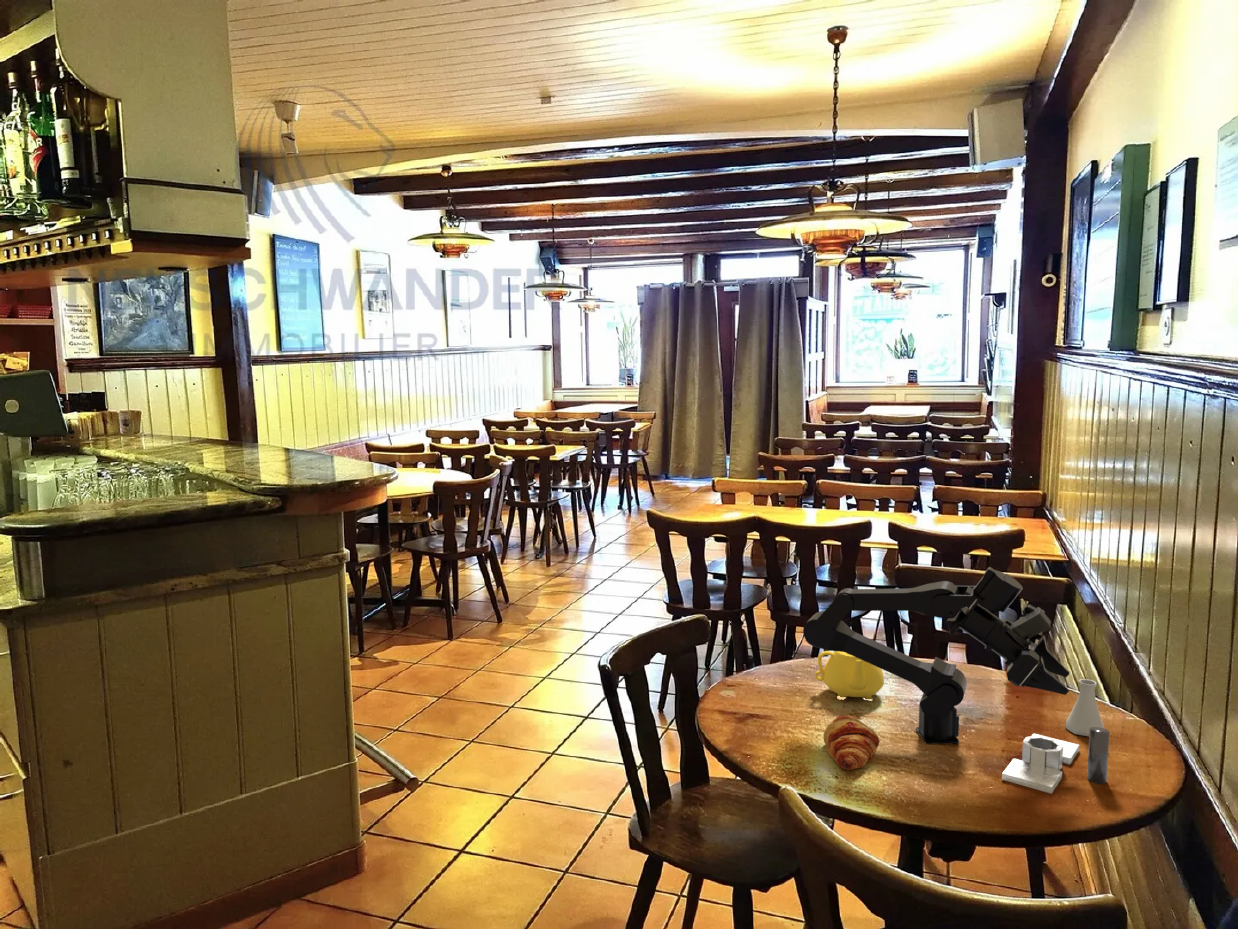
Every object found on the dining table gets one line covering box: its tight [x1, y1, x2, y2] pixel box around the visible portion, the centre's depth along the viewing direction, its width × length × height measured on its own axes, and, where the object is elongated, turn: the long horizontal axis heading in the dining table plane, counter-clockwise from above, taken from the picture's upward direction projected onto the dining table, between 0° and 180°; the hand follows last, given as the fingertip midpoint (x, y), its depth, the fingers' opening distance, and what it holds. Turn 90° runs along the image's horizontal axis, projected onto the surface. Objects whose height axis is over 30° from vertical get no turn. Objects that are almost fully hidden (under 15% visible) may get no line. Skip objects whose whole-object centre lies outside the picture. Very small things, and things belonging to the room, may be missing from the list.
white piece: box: [1001, 733, 1080, 795], centre depth 156 cm, size 8×20×4 cm, turn 140°
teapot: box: [814, 650, 885, 699], centre depth 189 cm, size 20×15×12 cm
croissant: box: [823, 715, 880, 771], centre depth 162 cm, size 21×10×8 cm, turn 165°
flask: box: [1064, 678, 1106, 737], centre depth 169 cm, size 7×7×10 cm
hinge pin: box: [1086, 727, 1110, 785], centre depth 150 cm, size 3×3×9 cm
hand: (1067, 683), depth 156 cm, fingers open, 9 cm apart
